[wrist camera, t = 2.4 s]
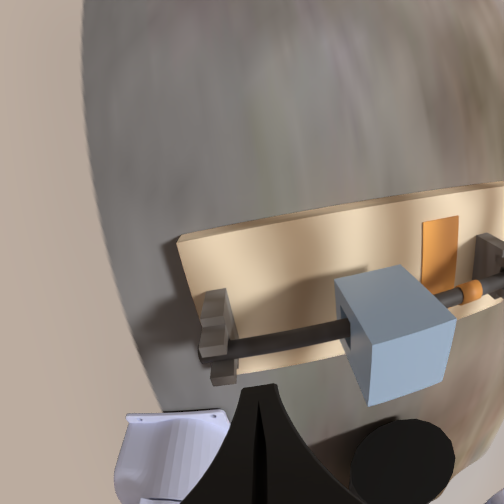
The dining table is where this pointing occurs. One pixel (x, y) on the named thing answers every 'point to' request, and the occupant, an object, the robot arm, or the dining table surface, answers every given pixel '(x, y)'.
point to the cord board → (335, 271)
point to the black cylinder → (402, 464)
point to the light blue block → (393, 332)
